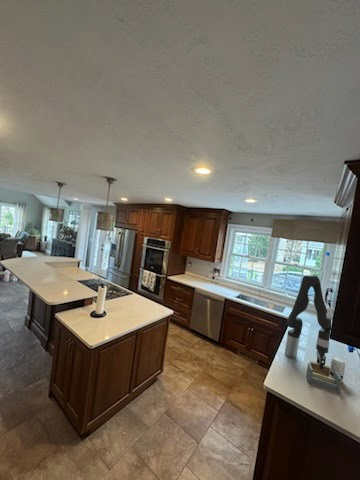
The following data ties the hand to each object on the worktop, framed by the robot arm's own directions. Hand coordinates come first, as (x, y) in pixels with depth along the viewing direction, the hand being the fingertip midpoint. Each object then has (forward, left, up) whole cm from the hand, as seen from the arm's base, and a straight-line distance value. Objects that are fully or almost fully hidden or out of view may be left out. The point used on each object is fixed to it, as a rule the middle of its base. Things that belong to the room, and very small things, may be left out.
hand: (319, 366), depth 157 cm
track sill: (+9, 0, -8) cm, 12 cm away
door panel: (-1, 0, -8) cm, 8 cm away
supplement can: (-4, +12, -8) cm, 15 cm away
